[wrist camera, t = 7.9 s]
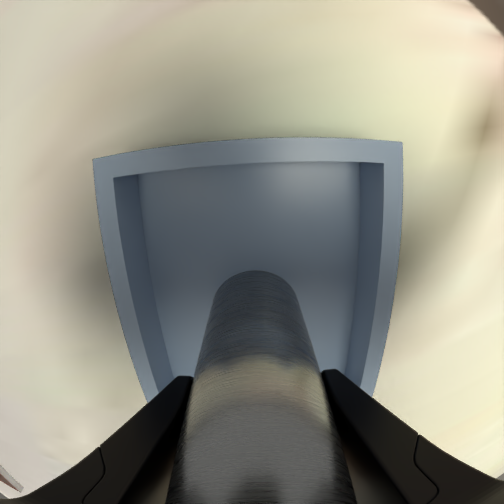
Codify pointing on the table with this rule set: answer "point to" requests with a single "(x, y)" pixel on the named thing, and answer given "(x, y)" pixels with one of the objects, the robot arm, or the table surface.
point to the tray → (253, 243)
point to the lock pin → (258, 407)
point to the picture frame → (9, 480)
